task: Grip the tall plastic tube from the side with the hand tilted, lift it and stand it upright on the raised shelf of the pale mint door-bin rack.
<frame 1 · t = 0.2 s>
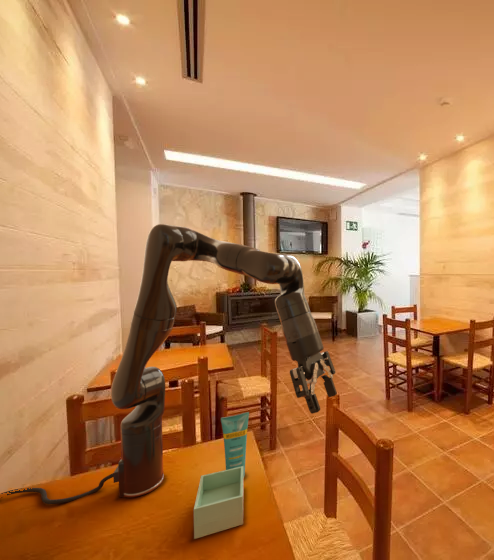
hand: (324, 403, 68), 31 cm above the table, tool tilted 20°, fingers open, 8 cm apart
tube: (236, 479, 89), on the table
door shelf: (221, 512, 76), on the table
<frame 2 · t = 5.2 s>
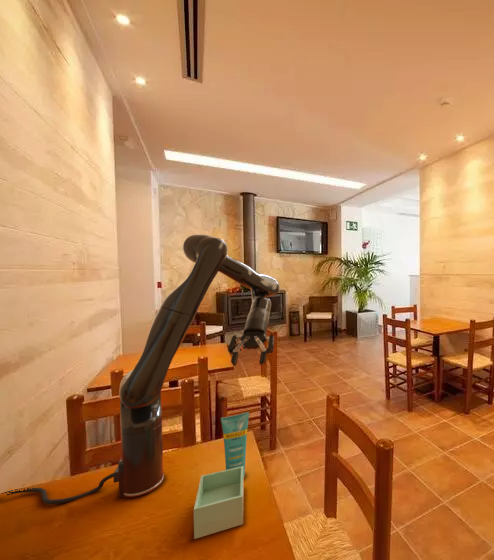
hand: (247, 364, 99), 30 cm above the table, tool tilted 45°, fingers open, 8 cm apart
nothing on the table moved.
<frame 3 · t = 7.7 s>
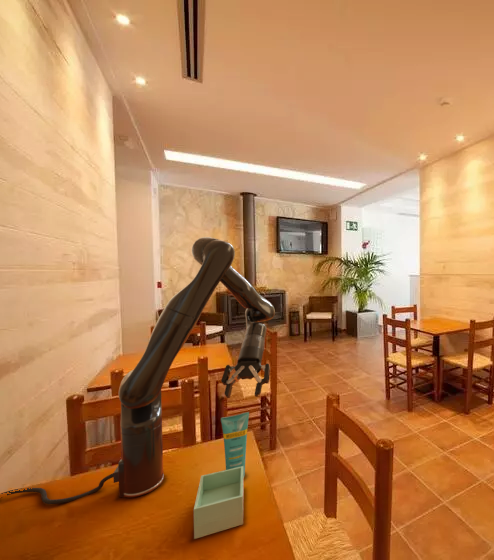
hand: (242, 396, 94), 22 cm above the table, tool tilted 45°, fingers open, 8 cm apart
nothing on the table moved.
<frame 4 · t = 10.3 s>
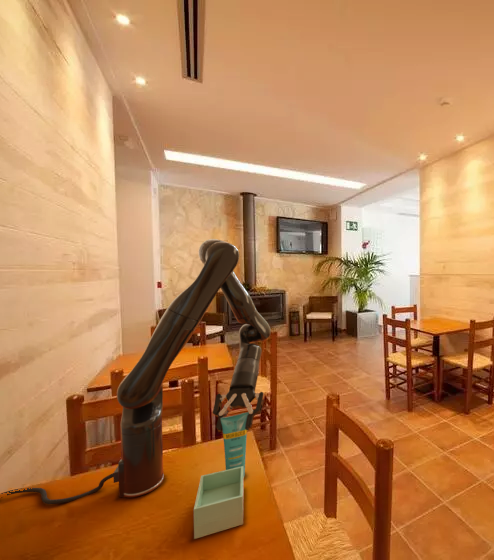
hand: (233, 430, 86), 15 cm above the table, tool tilted 45°, fingers closed on tube, 7 cm apart
tube: (235, 479, 89), on the table, touching gripper
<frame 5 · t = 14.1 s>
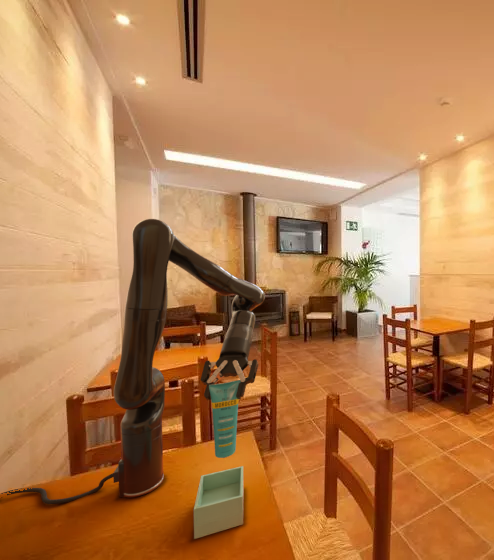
hand: (223, 398, 78), 28 cm above the table, tool tilted 45°, fingers closed on tube, 7 cm apart
tube: (225, 453, 80), point 13 cm above the table, touching gripper
when the fingers open (18 cm above the table, at t = 18.0 s): tube stays where it is, resting on door shelf.
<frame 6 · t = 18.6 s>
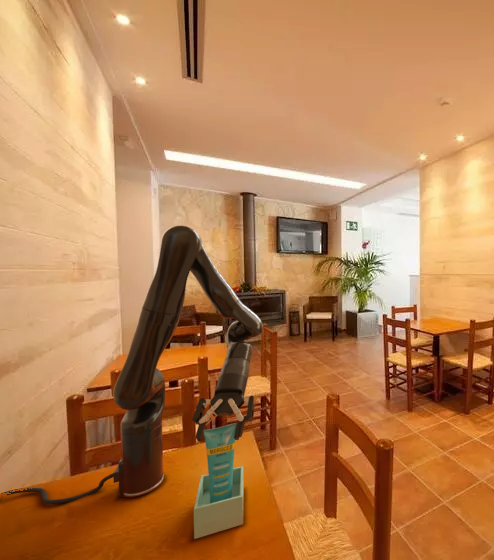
hand: (218, 440, 74), 19 cm above the table, tool tilted 45°, fingers open, 8 cm apart
tube: (221, 501, 76), point 3 cm above the table, touching door shelf
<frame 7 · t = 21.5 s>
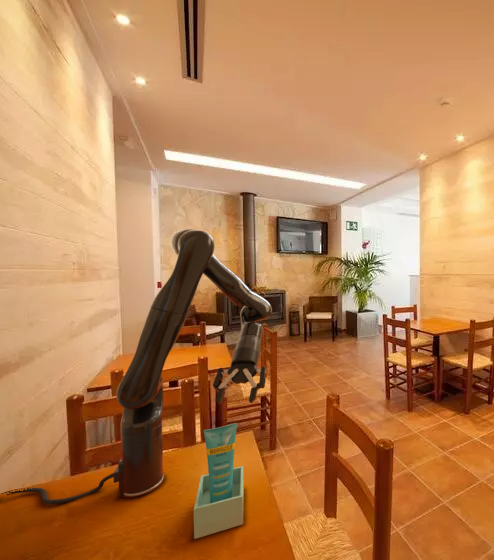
hand: (235, 402, 87), 23 cm above the table, tool tilted 45°, fingers open, 8 cm apart
nothing on the table moved.
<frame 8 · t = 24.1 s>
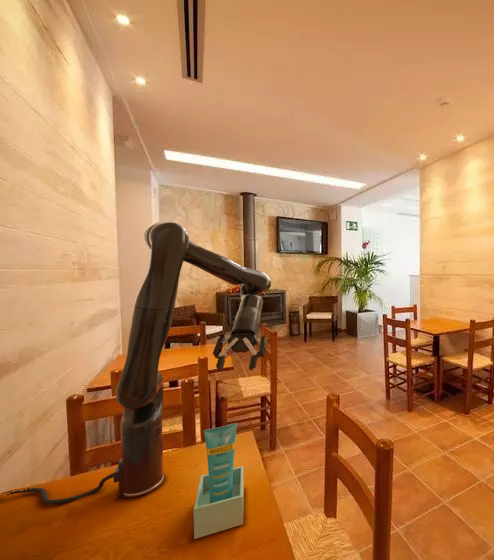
hand: (235, 369, 87), 33 cm above the table, tool tilted 45°, fingers open, 8 cm apart
nothing on the table moved.
at the end: tube inside the target area in the door shelf (0.1 cm from its centre), point 2.8 cm above the door shelf's base; tube tilted 0°; the gripper is holding nothing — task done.
